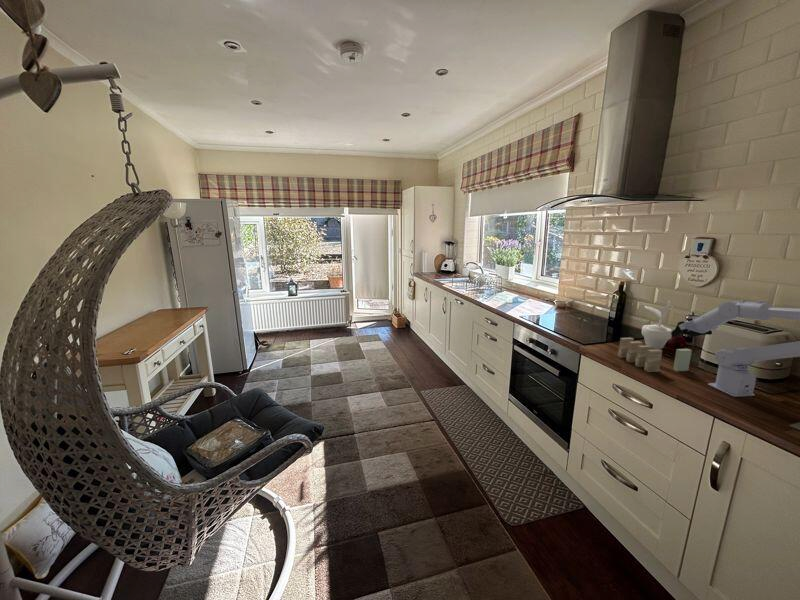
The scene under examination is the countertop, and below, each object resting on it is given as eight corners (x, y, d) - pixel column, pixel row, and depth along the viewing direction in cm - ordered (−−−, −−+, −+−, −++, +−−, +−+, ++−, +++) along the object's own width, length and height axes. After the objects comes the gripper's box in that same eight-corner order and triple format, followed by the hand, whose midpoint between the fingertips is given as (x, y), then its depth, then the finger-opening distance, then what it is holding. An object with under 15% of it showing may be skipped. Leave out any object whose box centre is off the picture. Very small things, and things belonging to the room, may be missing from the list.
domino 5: (688, 370, 137) (691, 350, 135) (676, 371, 136) (680, 350, 134) (684, 368, 138) (687, 348, 136) (673, 369, 138) (676, 349, 136)
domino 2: (639, 361, 146) (642, 342, 144) (629, 362, 146) (631, 342, 144) (636, 360, 148) (639, 341, 146) (626, 360, 148) (628, 341, 146)
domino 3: (649, 366, 141) (652, 346, 139) (638, 367, 141) (641, 347, 139) (645, 364, 143) (648, 344, 141) (634, 365, 143) (637, 345, 141)
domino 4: (658, 371, 137) (662, 350, 135) (647, 371, 136) (650, 351, 134) (655, 369, 138) (658, 349, 136) (644, 370, 138) (647, 349, 136)
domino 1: (631, 357, 151) (633, 338, 149) (620, 358, 151) (623, 339, 149) (628, 355, 153) (630, 337, 151) (617, 356, 152) (620, 337, 151)
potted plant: (674, 349, 160) (683, 298, 154) (659, 353, 156) (667, 301, 150) (647, 341, 171) (654, 293, 166) (632, 344, 167) (639, 296, 162)
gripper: (721, 311, 128) (691, 326, 140) (688, 311, 127) (660, 326, 139) (731, 327, 125) (700, 341, 137) (697, 327, 123) (668, 342, 135)
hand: (680, 335), depth 137 cm, fingers open, 7 cm apart
